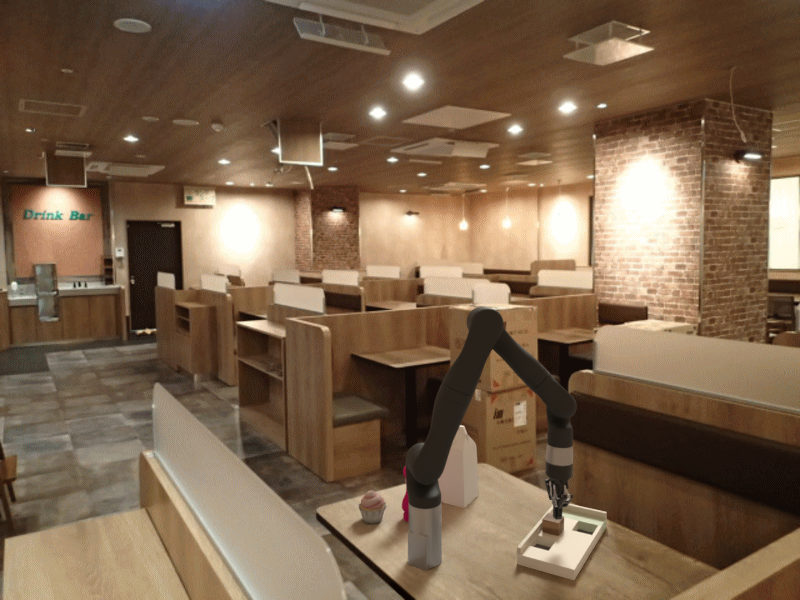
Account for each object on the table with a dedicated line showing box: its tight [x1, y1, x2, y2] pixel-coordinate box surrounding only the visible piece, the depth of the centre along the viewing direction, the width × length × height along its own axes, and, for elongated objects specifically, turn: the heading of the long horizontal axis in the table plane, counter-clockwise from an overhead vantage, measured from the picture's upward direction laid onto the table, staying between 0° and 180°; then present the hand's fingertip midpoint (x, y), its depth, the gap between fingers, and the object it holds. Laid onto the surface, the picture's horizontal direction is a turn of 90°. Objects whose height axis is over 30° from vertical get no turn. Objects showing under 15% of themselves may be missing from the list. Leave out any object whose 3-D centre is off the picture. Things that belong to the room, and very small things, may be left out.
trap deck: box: [516, 503, 608, 581], centre depth 183 cm, size 34×16×5 cm, turn 148°
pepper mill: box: [401, 464, 409, 523], centre depth 201 cm, size 7×7×20 cm
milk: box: [438, 424, 480, 509], centre depth 215 cm, size 12×12×26 cm
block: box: [542, 513, 564, 536], centre depth 186 cm, size 5×5×4 cm
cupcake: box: [358, 489, 388, 525], centre depth 201 cm, size 9×9×10 cm
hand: (557, 518), depth 179 cm, fingers closed
